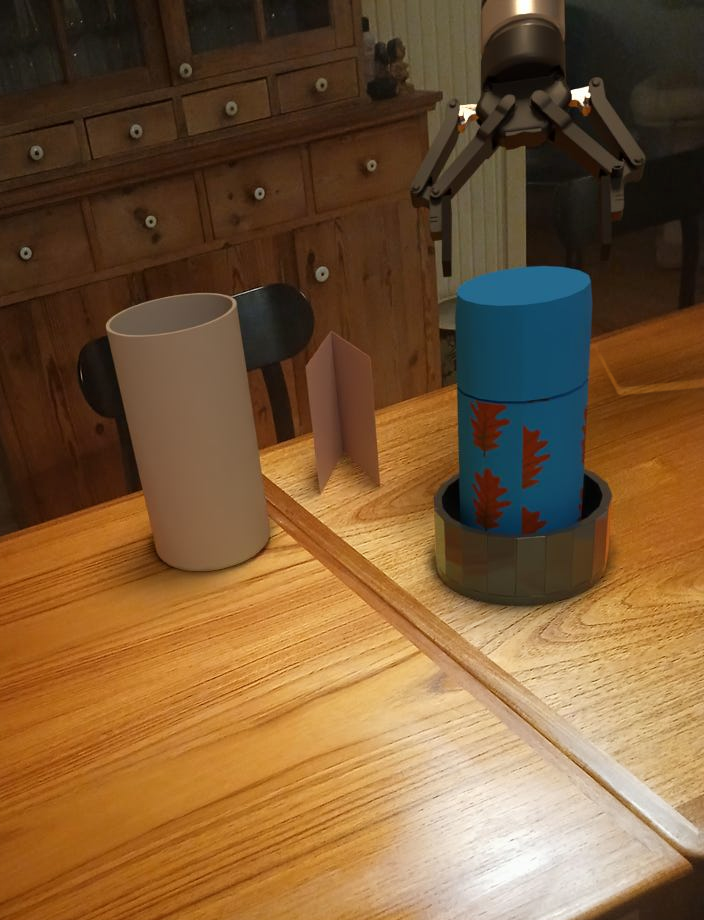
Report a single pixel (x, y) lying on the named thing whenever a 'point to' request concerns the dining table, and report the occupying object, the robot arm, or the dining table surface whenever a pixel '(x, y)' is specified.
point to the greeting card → (342, 408)
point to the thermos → (522, 397)
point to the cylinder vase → (192, 428)
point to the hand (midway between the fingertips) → (524, 261)
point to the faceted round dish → (523, 551)
